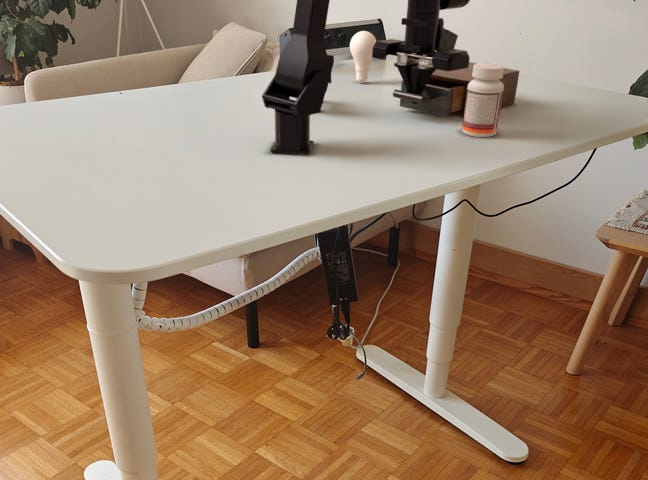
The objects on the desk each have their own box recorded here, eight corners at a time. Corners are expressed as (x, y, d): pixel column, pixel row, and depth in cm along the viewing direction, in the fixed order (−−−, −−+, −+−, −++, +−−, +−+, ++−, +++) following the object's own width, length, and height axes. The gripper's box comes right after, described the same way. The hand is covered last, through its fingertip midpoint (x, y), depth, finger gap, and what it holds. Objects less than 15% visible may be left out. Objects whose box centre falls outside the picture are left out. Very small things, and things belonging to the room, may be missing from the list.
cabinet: (465, 117, 132) (470, 81, 129) (415, 106, 140) (418, 71, 136) (514, 104, 142) (519, 70, 138) (464, 94, 149) (468, 61, 146)
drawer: (428, 121, 126) (431, 94, 123) (382, 110, 133) (384, 84, 130) (493, 104, 138) (497, 79, 135) (447, 95, 145) (450, 70, 142)
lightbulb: (375, 86, 156) (378, 33, 150) (348, 85, 156) (350, 32, 150) (373, 80, 161) (376, 29, 155) (347, 80, 161) (349, 28, 155)
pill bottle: (476, 127, 126) (485, 61, 120) (503, 134, 122) (514, 66, 116) (454, 132, 123) (462, 65, 117) (481, 139, 119) (492, 70, 113)
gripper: (493, 13, 120) (480, 105, 129) (412, 4, 132) (405, 89, 140) (454, 18, 114) (443, 115, 122) (372, 8, 125) (367, 97, 134)
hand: (414, 103), depth 130 cm, fingers closed, pressing on drawer
